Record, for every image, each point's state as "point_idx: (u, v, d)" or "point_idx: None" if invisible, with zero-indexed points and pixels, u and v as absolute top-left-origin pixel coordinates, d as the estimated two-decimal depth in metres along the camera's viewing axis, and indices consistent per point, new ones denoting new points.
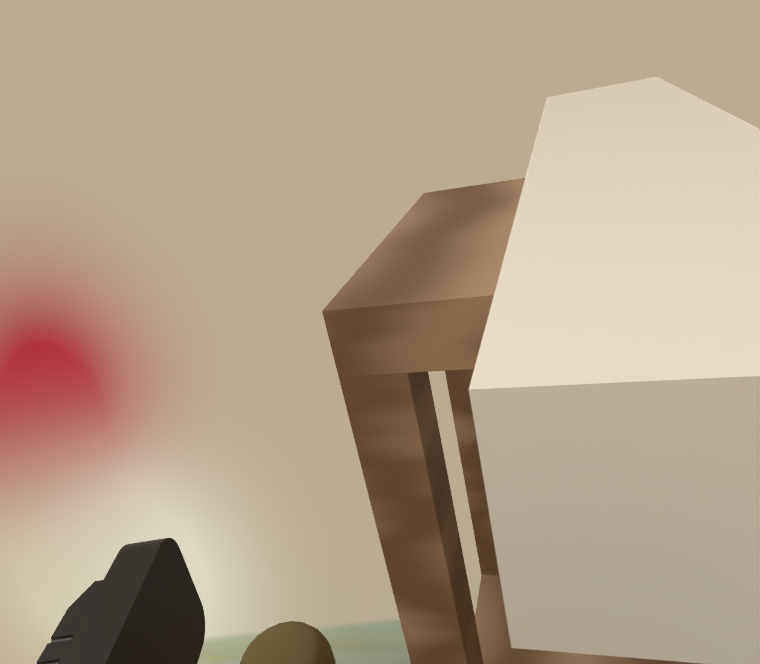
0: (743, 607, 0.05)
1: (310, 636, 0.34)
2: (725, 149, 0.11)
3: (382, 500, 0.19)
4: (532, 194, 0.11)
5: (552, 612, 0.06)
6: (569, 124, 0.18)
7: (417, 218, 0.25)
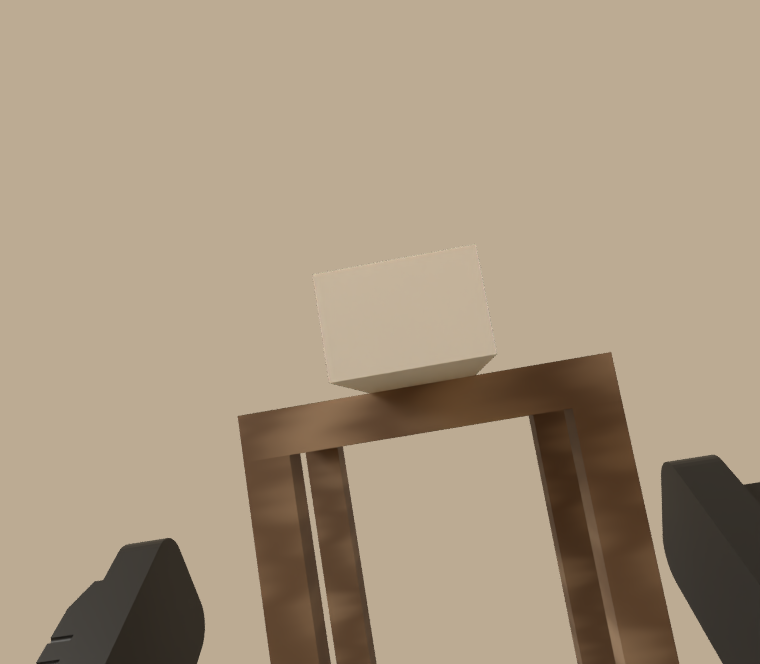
0: (400, 342, 0.17)
1: None
2: None
3: (266, 564, 0.26)
4: None
5: (342, 360, 0.17)
6: None
7: None
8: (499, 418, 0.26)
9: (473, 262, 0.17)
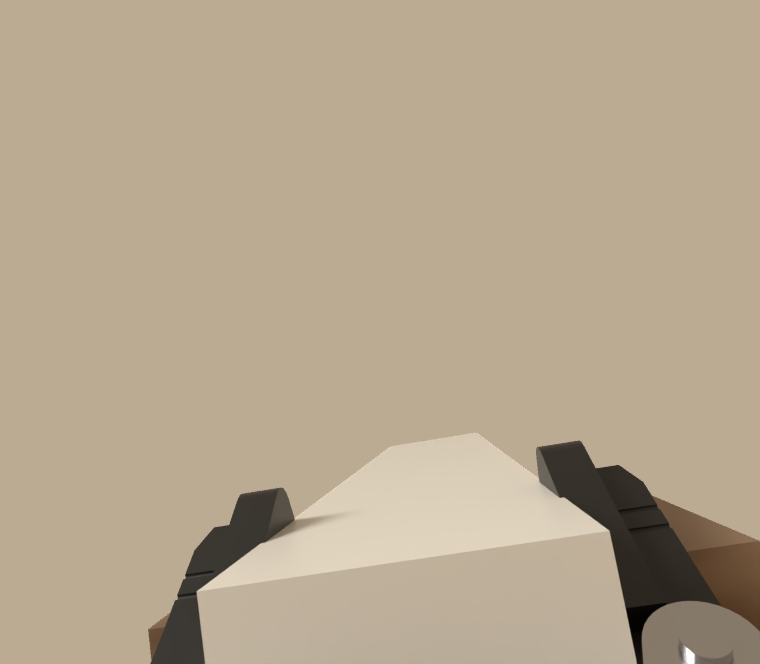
0: None
1: None
2: (477, 467, 0.15)
3: None
4: (328, 498, 0.14)
5: None
6: (390, 460, 0.22)
7: None
8: None
9: (604, 580, 0.07)
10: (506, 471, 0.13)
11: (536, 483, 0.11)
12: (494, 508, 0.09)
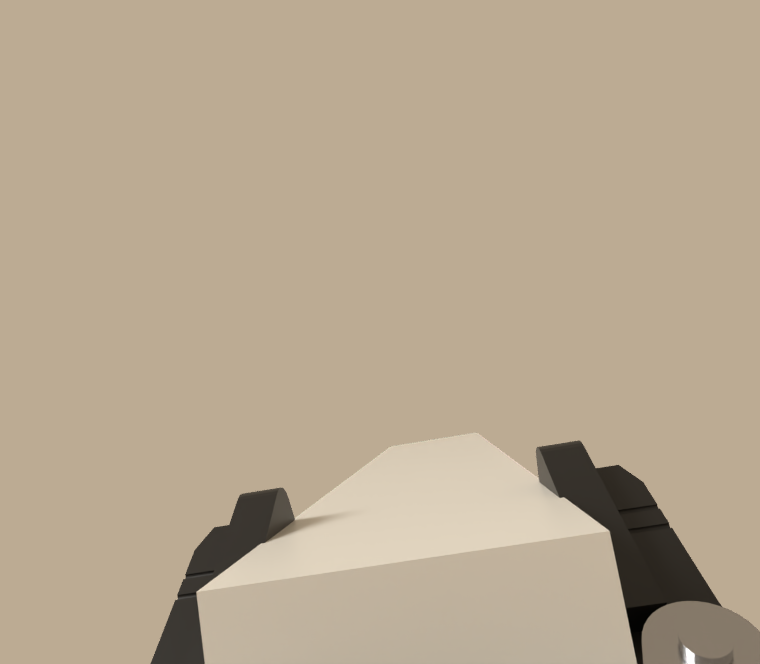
0: None
1: None
2: (477, 467, 0.15)
3: None
4: (328, 498, 0.14)
5: None
6: (391, 460, 0.22)
7: None
8: None
9: (604, 580, 0.07)
10: (506, 471, 0.13)
11: (536, 483, 0.11)
12: (494, 508, 0.09)
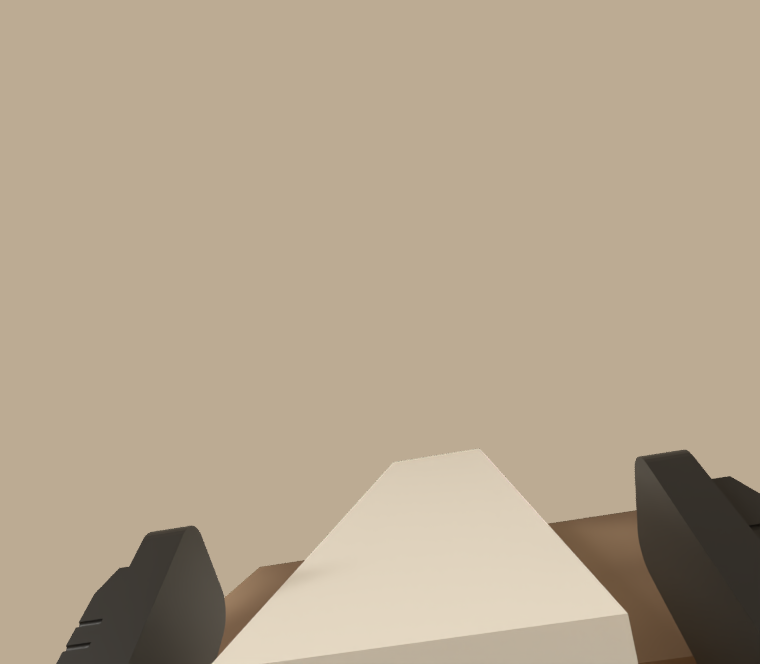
0: None
1: None
2: (484, 502, 0.15)
3: None
4: (333, 537, 0.14)
5: None
6: (395, 484, 0.22)
7: (239, 599, 0.22)
8: None
9: None
10: (514, 511, 0.13)
11: (546, 532, 0.11)
12: (505, 567, 0.09)
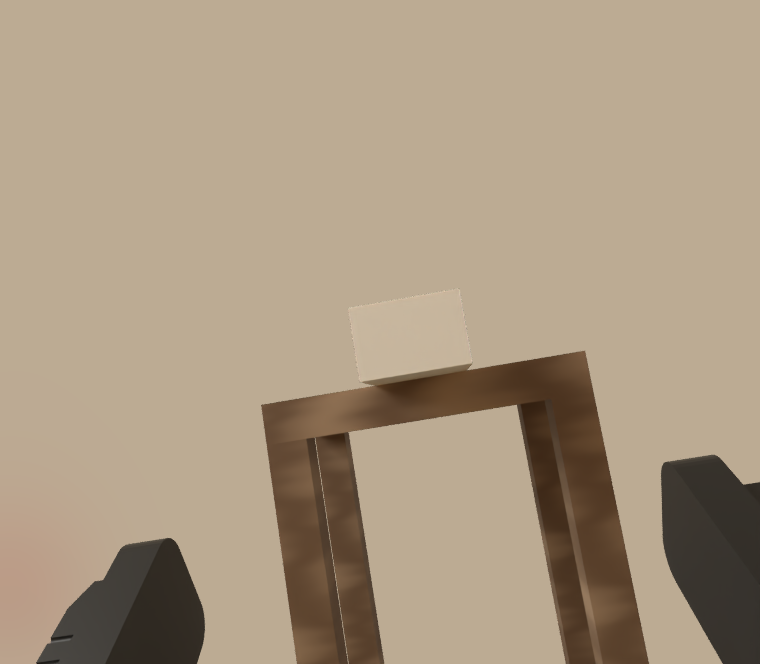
0: (407, 355, 0.25)
1: None
2: None
3: (287, 532, 0.30)
4: None
5: (368, 366, 0.25)
6: None
7: None
8: (488, 407, 0.30)
9: (457, 300, 0.25)
10: None
11: None
12: None
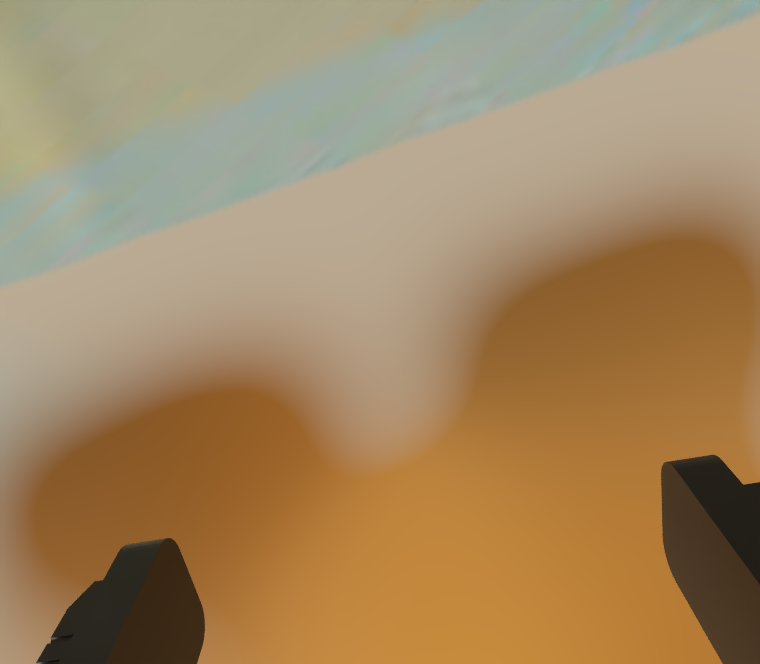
0: None
1: None
2: None
3: None
4: None
5: None
6: None
7: None
8: None
9: None
10: None
11: None
12: None
